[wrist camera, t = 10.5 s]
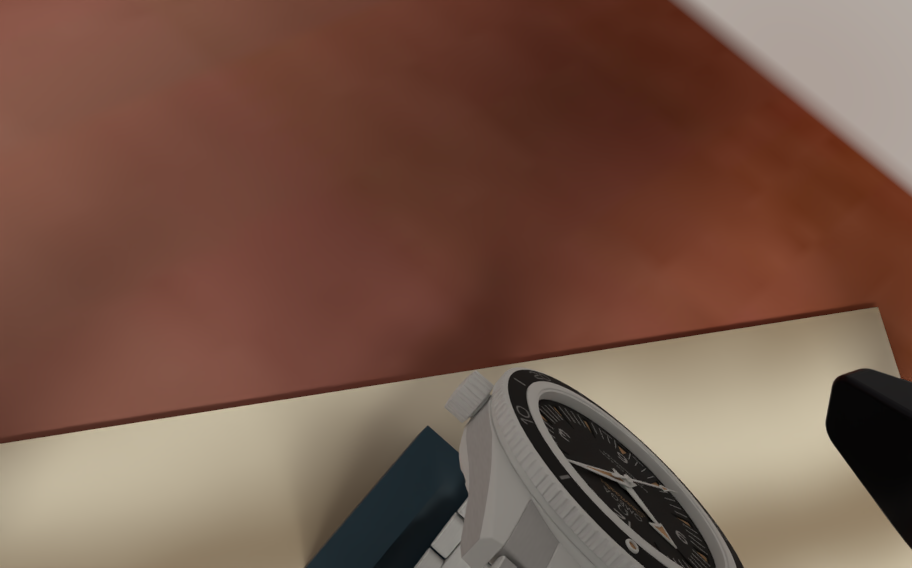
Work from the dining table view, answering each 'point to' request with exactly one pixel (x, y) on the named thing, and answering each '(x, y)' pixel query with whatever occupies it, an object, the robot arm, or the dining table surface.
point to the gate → (422, 403)
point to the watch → (528, 492)
